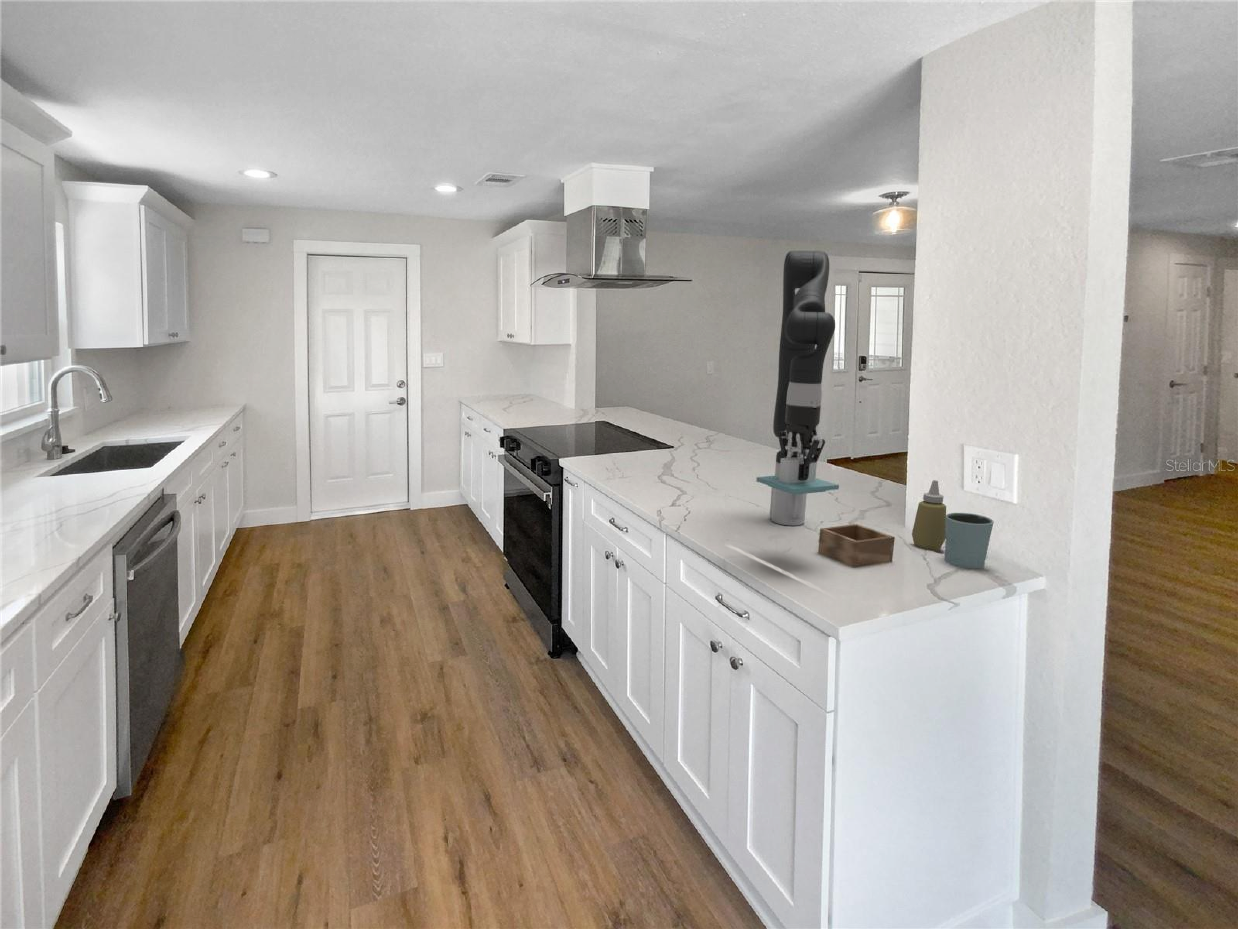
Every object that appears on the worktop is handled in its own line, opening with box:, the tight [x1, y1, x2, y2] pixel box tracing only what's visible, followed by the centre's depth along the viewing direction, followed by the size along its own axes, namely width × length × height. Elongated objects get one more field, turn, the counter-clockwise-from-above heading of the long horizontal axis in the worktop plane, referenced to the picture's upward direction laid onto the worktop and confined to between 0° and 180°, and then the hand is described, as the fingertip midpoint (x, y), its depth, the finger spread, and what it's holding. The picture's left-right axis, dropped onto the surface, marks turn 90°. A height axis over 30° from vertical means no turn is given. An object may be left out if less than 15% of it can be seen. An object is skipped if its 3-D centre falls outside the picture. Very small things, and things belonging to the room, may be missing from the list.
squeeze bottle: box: [911, 479, 947, 553], centre depth 182 cm, size 8×8×18 cm
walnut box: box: [817, 523, 896, 569], centre depth 172 cm, size 12×12×7 cm
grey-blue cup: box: [944, 512, 995, 570], centre depth 170 cm, size 10×10×12 cm
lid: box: [755, 457, 840, 495], centre depth 163 cm, size 13×13×7 cm
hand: (797, 478), depth 164 cm, fingers closed on lid, 3 cm apart
